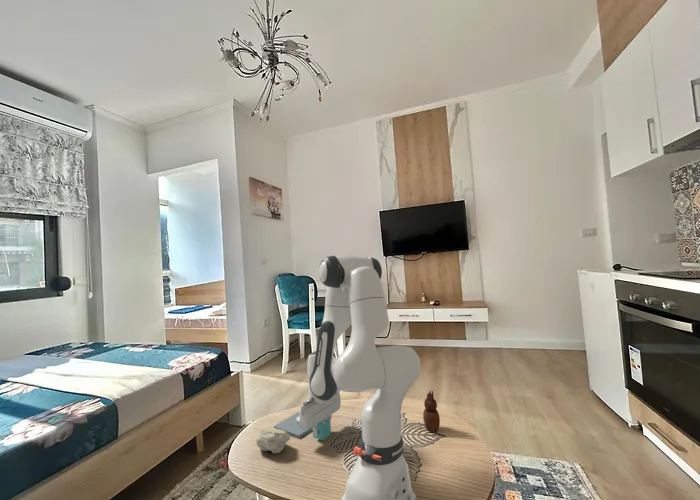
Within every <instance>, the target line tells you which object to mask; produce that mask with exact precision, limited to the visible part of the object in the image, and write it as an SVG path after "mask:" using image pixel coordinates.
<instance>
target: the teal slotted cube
mask: <svg viewBox="0 0 700 500" xmlns="http://www.w3.org/2000/svg"><path fill="white" fill-rule="evenodd" d="M316 428H317V429H318V430H319V435H317V436H314V435H313V434H312V437H313V438H315V439H318V440H321V441H324V440H326V439H327V438H328V437H329V436H331V435H332V432H331V431H332V429H331V428H332V427H331V421H329V420H326V419H324V420H323V421H321V422H320V423H318V424H317V427H316Z"/></svg>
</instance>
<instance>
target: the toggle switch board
mask: <svg viewBox="0 0 700 500" xmlns="http://www.w3.org/2000/svg"><path fill="white" fill-rule="evenodd" d="M300 410H301V408H299V411H298V412H296V413H294V414H293V415H291V416H289V417H287V418H285V419H284V420H281V422H278V423H277V424H275V425H273V428H276V429H280V430H283V431H286V432H287V434H289V435H290V437H293V438H295V439H298V440H300V439H301V438H303V437H304V436H306V435H307V434H309V433H310V432H311V431H312V432H313V430H312V428H311V429H309V430H304V429H301V428H300V426H299V420H300Z"/></svg>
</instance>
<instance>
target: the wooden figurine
mask: <svg viewBox="0 0 700 500" xmlns="http://www.w3.org/2000/svg"><path fill="white" fill-rule="evenodd" d="M434 397H435V396H434V391H433V390H429V392H428V393H427V394H426V398H425V399H424V401H423V403H424V404H423V405H424V410H423V415H422V416H423V417H422V419H423V422H424V426H425V429H426V430H427V431H428V432H430V433H436V432H437V431H439V429H440V424H441V423H440V421H441V419H440V414H439V411H438V410H437V408H438V404H437V401H436V399H435V398H434Z"/></svg>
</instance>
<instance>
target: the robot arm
mask: <svg viewBox="0 0 700 500" xmlns="http://www.w3.org/2000/svg"><path fill="white" fill-rule="evenodd" d="M318 269H319V271H318V274H319V280H320V282H321V283H322V284H323V285H324V286H325V287H326V291H325V298H324V299H325V300H324V301H325V302H324V312H323V318H322V321H321V325H320V327H319V330H318V336H317V340H316V348H315V350H314V351H313V352H311V353H309V354H308V357H307V362H306V363H307V365H306V366H307V368H306V370H307V371H306V372H307V373H306V374H307V379H308V384H307V393H308V395H307V396H308V399H307V400H306V401H304V402H303V403H302V405H301V407H300V409H301V410H300V409H299V410H300V420H299V426H300V428H301V429H304V430H309V429H311V428H312V436H313V435H314V436H317V435H319V430H318V429H317V428H316V427H317V424H318V423H320V422H321V421H323V420H324V419H326V420H329V421H330V422H331V420H332V415H333V414H335V413H336V412H338V411H339V410H340V408H341V404H342V402H341V394H340V392H346V393H363V392H369V391H375V390H376V391H375V392H374V394H373V396H371V397H370V399H368V400H367V401H366V402H365V403H364V405H363V407H362V408H361V411H360V417H361V418H360V420H361V422H360V423H361V437H360V442H359V446H358V445H357V446H356V445H355V447H354V448H353V455H355V456H358V457H357V459H356V461H355V463H354V465H353V468H352V469H351V472H350V474H349V476H348V479H347V481H346V484H345V492H344V494H343V495H342V497H341V499H340V500H417V496H416V493H415V492H414V491H413V490H412V485H411V477H410V469H409V465H408V463H407V461H406V458H405V456H404V446H405V445H404V440H403V435H402V431H401V429H402V428H401V415H402V413H401V412H402V411H401V410H402V406H403V405H402V404H403V401H404V399H405V396H406V394H407V392H408V390H409V388H410V387H411V386H412V384H413V383H414V382H415V381H417V379H418V378H419V376H420V374H421V369H422V368H421V367H422V365H421V360H420V357H419V355H418V353H417V352H416V351H415V349H413V348H412V347H410V346H406V345H405V346H404V345H391V346H383V347H377V348H376V347H375V340H376V338H378V337H379V336H380V335H382V334H383V333H384V332H385V331H386V330H387V329H388V326H389V322H390V319H389V315H388V313H389V312H388V308H387V303H386V297H385V292H384V289H383V285H382V281H381V279H382V274H383V269H382V265H381V263H380V261H379V260H378V259H376V258H374V257H370V256H357V255H351V254H350V255H347V254H346V255H336V256H335V255H330V256H326V257H323V259H322V260H321V261H320V264H319V268H318ZM350 326H351V334H350V338H349V340H348V342H347V346H346V347H345V349H343V351H342V353H341V354H340V355H338V357H335V355H334V354H335V346H336V344H337V342H338V340H339V338H340V337H341V336H342V335H343V334H344V333H345V332H346V330H347V329H349V327H350Z"/></svg>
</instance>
